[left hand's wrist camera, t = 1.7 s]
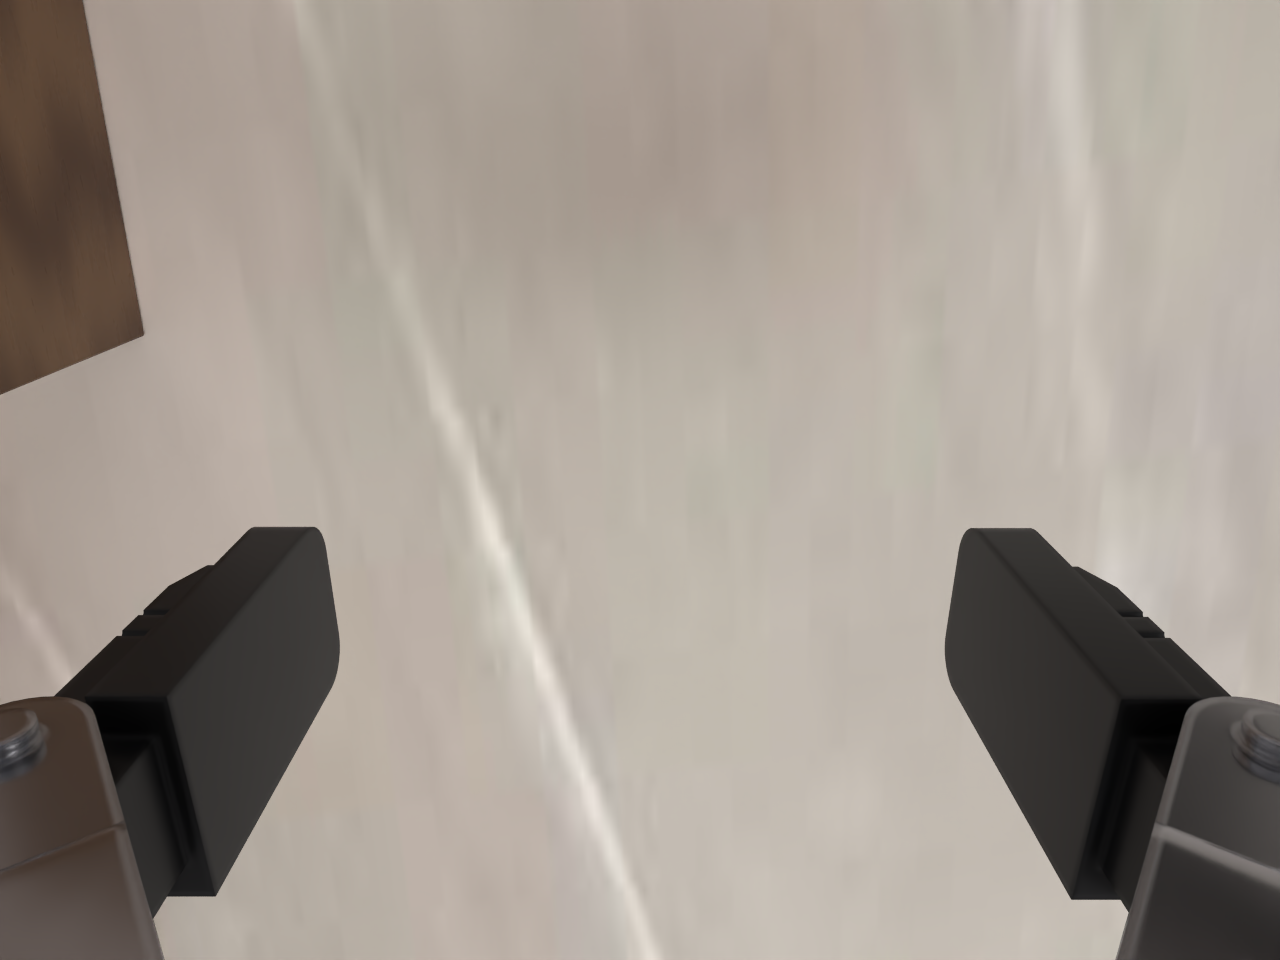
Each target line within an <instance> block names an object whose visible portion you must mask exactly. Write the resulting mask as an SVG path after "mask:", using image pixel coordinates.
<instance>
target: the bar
mask: <svg viewBox="0 0 1280 960" xmlns="http://www.w3.org/2000/svg"><path fill="white" fill-rule="evenodd" d="M143 335H144V333H143V328H142V322H141V317H140V311H139V306H138V301H137V295H136V290H135V284H134V279H133V273H132V268H131V263H130V257H129V252H128V246H127V241H126V236H125V230H124V225H123V219H122V214H121V208H120V203H119V198H118V192H117V187H116V181H115V176H114V171H113V165H112V160H111V154H110V149H109V143H108V138H107V133H106V127H105V122H104V116H103V111H102V106H101V100H100V95H99V89H98V84H97V78H96V73H95V68H94V62H93V57H92V51H91V46H90V40H89V35H88V30H87V24H86V19H85V13H84V8H83V3H82V0H0V395H1V394H3V393H5V392H8V391H10V390H13V389H15V388H18V387H20V386H22V385H25V384H27V383H30V382H32V381H35V380H37V379H39V378H42V377H44V376H47V375H49V374H52V373H54V372H56V371H59V370H61V369H64V368H66V367H68V366H71V365H73V364H76V363H78V362H81V361H83V360H85V359H88V358H90V357H93V356H95V355H98V354H100V353H102V352H105V351H107V350H110V349H112V348H115V347H117V346H119V345H122V344H124V343H127V342H129V341H132V340H134V339H136V338H139V337H141V336H143Z"/></svg>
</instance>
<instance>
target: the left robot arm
mask: <svg viewBox="0 0 1280 960" xmlns="http://www.w3.org/2000/svg"><path fill="white" fill-rule="evenodd" d="M339 654H340V641H339V631H338V625H337V618H336V612H335V605H334V598H333V592H332V585H331V578H330V572H329V565H328V558H327V552H326V546H325V542H324V539H323V536H322V534H321V532H320V531H319V530H318V529H317V528H315V527H253V528H251V529H249V530H248V531H247V532H246V533H245V534H244V535H243V536H242V537H241V538H240V539H239V540H238V541H237V542H236V543H235V544H234V545H233V546H232V547H231V548H230V549H229V550H228V551H227V552H226V553H225V554H224V555H223V556H222V557H221V558H220V559H219V560H218V562H217V563H216V564H215V565H207V566H205V567H203V568H201V569H200V570H198V571H196V572H194V573H192V574H190V575H188V576H187V577H185V578H183V579H181V580H179V581H177V582H175V583H173V584H172V585H170V586H168V587H167V588H166V589H165V590H164V591H163V592H162V593H161V594H160V595H159V596H158V597H157V598H156V599H155V600H154V601H153V602H152V603H151V604H150V605H149V606H147V607H146V608H145V609H144V614H143V615H138V616H137V617H136V618H135V619H134V620H133V621H132V622H131V623H130V624H129V625H128V626H127V627H126V628H125V629H124V630H123V631H122V636H116V637H115V638H114V639H113V640H112V641H111V642H110V643H109V644H108V645H107V646H106V647H105V648H104V649H103V650H102V651H101V652H100V653H99V654H98V655H96V656H95V657H94V658H93V659H92V660H91V661H90V662H89V663H88V664H87V665H86V666H85V667H84V668H83V669H82V670H81V671H80V672H79V673H78V674H77V675H76V676H75V677H74V678H73V679H72V680H70V681H69V682H68V683H67V684H66V685H65V686H64V687H63V688H62V689H61V690H60V691H59V692H58V693H57V694H56V695H55V696H54V697H37V698H28V699H23V700H18V701H13V702H9V703H6V704H2V705H0V960H164V956H163V953H162V949H161V946H160V942H159V938H158V935H157V931H156V928H155V924H154V921H153V918H154V916H155V915H156V913H157V912H158V910H159V908H160V907H161V905H162V904H163V902H164V900H165V899H166V897H167V896H216V895H217V893H218V891H219V889H220V888H221V886H222V884H223V882H224V880H225V879H226V877H227V875H228V873H229V871H230V870H231V868H232V866H233V864H234V862H235V861H236V859H237V857H238V855H239V853H240V852H241V850H242V848H243V846H244V844H245V843H246V841H247V839H248V837H249V835H250V834H251V832H252V830H253V828H254V826H255V825H256V823H257V821H258V819H259V817H260V816H261V814H262V812H263V810H264V808H265V807H266V805H267V803H268V801H269V799H270V798H271V796H272V794H273V792H274V790H275V789H276V787H277V785H278V783H279V781H280V780H281V778H282V776H283V774H284V772H285V771H286V769H287V767H288V765H289V763H290V762H291V760H292V758H293V756H294V754H295V753H296V751H297V749H298V747H299V745H300V744H301V742H302V740H303V738H304V737H305V735H306V733H307V731H308V729H309V728H310V726H311V724H312V722H313V720H314V719H315V717H316V715H317V713H318V711H319V710H320V708H321V706H322V704H323V702H324V701H325V699H326V697H327V695H328V693H329V692H330V690H331V688H332V686H333V684H334V681H335V678H336V674H337V669H338V664H339ZM945 661H946V668H947V673H948V677H949V680H950V683H951V686H952V688H953V690H954V692H955V694H956V695H957V697H958V699H959V701H960V703H961V704H962V706H963V708H964V710H965V711H966V713H967V715H968V717H969V719H970V720H971V722H972V724H973V726H974V727H975V729H976V731H977V733H978V735H979V736H980V738H981V740H982V742H983V743H984V745H985V747H986V749H987V751H988V752H989V754H990V756H991V758H992V759H993V761H994V763H995V765H996V766H997V768H998V770H999V772H1000V774H1001V775H1002V777H1003V779H1004V781H1005V782H1006V784H1007V786H1008V788H1009V790H1010V791H1011V793H1012V795H1013V797H1014V798H1015V800H1016V802H1017V804H1018V806H1019V807H1020V809H1021V811H1022V813H1023V814H1024V816H1025V818H1026V820H1027V822H1028V823H1029V825H1030V827H1031V829H1032V830H1033V832H1034V834H1035V836H1036V838H1037V839H1038V841H1039V843H1040V845H1041V846H1042V848H1043V850H1044V852H1045V854H1046V855H1047V857H1048V859H1049V861H1050V862H1051V864H1052V866H1053V868H1054V870H1055V871H1056V873H1057V875H1058V877H1059V878H1060V880H1061V882H1062V884H1063V886H1064V887H1065V889H1066V891H1067V893H1068V894H1069V896H1070V898H1071V900H1121V901H1122V903H1123V904H1124V906H1125V907H1126V909H1127V911H1128V912H1129V914H1128V917H1127V921H1126V924H1125V928H1124V931H1123V935H1122V938H1121V942H1120V946H1119V949H1118V953H1117V956H1116V960H1280V705H1278V704H1274V703H1271V702H1267V701H1262V700H1257V699H1252V698H1243V697H1231V696H1230V695H1229V694H1228V693H1227V692H1226V691H1225V690H1224V689H1223V688H1222V687H1221V686H1220V685H1219V684H1218V683H1217V682H1216V681H1215V680H1214V679H1213V678H1212V677H1210V676H1209V675H1208V674H1207V673H1206V672H1205V671H1204V670H1203V669H1202V668H1201V667H1200V666H1199V665H1198V664H1197V663H1196V662H1195V661H1194V660H1193V659H1192V658H1191V657H1189V656H1188V655H1187V654H1186V653H1185V652H1184V651H1183V650H1182V649H1181V648H1180V647H1179V646H1178V645H1177V644H1176V643H1175V642H1174V641H1173V640H1172V639H1171V638H1165V637H1164V632H1163V631H1162V630H1161V629H1160V628H1159V627H1158V626H1157V625H1156V624H1155V623H1154V622H1153V621H1152V620H1151V619H1150V618H1149V617H1143V612H1142V611H1141V610H1140V609H1139V608H1138V607H1137V606H1136V605H1135V604H1134V603H1133V602H1132V601H1131V600H1130V599H1129V598H1128V597H1126V596H1125V595H1124V594H1123V593H1122V592H1121V591H1120V590H1119V589H1118V588H1117V587H1115V586H1113V585H1111V584H1110V583H1108V582H1106V581H1104V580H1102V579H1100V578H1098V577H1096V576H1095V575H1093V574H1091V573H1089V572H1087V571H1085V570H1083V569H1081V568H1080V567H1072V566H1071V565H1070V564H1069V563H1068V562H1067V561H1066V560H1065V559H1064V558H1063V557H1062V556H1061V555H1060V554H1059V553H1058V552H1057V551H1056V550H1055V549H1054V548H1053V547H1052V546H1051V545H1050V544H1049V543H1048V542H1047V541H1046V540H1045V539H1044V538H1043V537H1042V536H1041V535H1040V534H1039V533H1038V532H1037V531H1036V530H1034V529H1032V528H970V529H968V530H967V531H966V532H965V534H964V535H963V537H962V540H961V543H960V547H959V552H958V559H957V565H956V572H955V578H954V585H953V591H952V598H951V604H950V611H949V617H948V624H947V630H946V638H945Z"/></svg>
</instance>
